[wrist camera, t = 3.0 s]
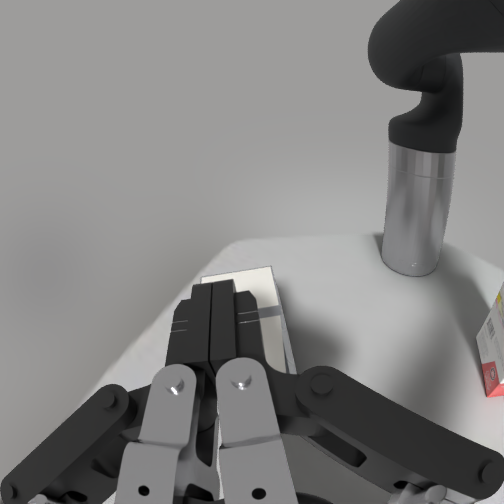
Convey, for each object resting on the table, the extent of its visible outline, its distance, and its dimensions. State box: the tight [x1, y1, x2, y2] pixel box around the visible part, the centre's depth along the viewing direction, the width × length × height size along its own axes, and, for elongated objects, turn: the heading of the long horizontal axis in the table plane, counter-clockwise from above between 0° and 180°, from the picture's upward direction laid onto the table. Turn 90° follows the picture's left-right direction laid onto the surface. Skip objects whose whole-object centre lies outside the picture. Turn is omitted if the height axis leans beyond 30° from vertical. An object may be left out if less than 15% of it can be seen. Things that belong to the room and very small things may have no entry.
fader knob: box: [200, 266, 286, 373], centre depth 21 cm, size 4×5×10 cm
